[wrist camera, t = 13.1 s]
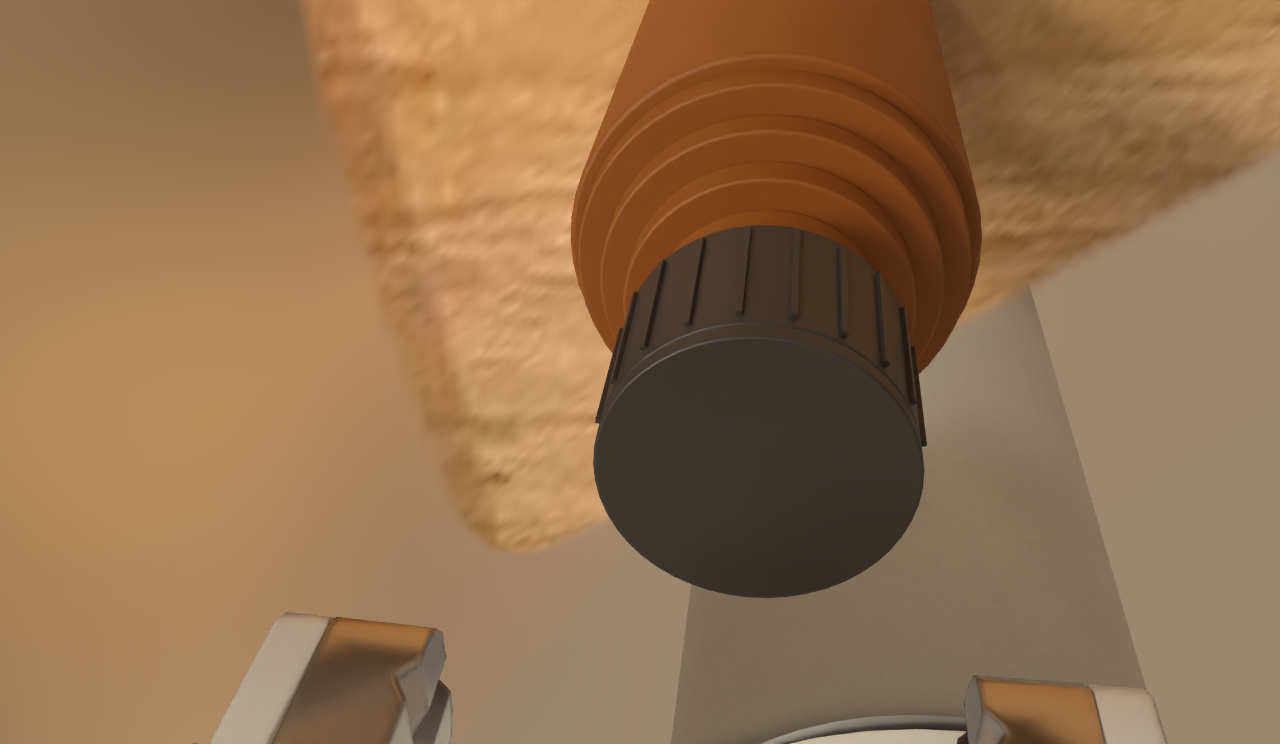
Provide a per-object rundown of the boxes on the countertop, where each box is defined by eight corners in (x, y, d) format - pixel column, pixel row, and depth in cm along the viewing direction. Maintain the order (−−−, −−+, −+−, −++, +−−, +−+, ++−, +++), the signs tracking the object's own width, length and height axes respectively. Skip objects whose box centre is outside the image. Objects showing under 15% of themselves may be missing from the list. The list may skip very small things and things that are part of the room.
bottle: (904, 119, 32) (986, 655, 16) (662, 109, 33) (517, 616, 17) (935, -140, 29) (1077, 224, 13) (663, -145, 29) (480, 196, 14)
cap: (619, 212, 16) (585, 323, 14) (930, 229, 16) (950, 346, 13) (622, 456, 18) (593, 587, 16) (894, 476, 18) (906, 614, 15)
